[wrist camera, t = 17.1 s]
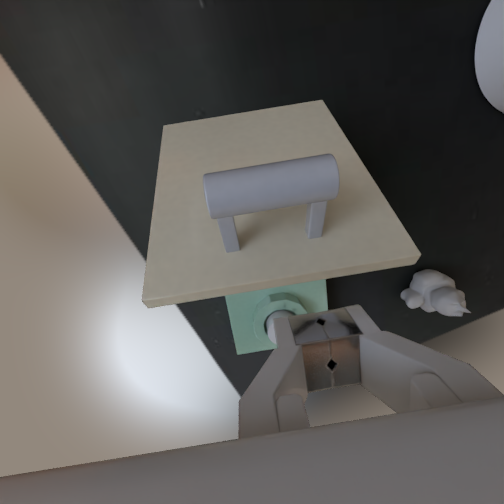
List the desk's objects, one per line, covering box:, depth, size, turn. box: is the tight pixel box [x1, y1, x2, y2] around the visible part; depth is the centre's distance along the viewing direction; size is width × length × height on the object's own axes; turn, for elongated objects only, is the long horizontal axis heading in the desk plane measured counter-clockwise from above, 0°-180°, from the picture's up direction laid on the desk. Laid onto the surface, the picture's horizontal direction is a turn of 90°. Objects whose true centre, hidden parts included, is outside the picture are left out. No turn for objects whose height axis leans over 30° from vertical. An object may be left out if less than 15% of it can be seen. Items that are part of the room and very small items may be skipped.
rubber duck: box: [401, 269, 471, 316], centre depth 33 cm, size 5×7×8 cm
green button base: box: [225, 279, 328, 355], centre depth 34 cm, size 12×9×5 cm
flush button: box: [266, 310, 294, 344], centre depth 32 cm, size 4×4×2 cm
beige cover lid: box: [142, 100, 421, 308], centre depth 16 cm, size 15×13×5 cm
